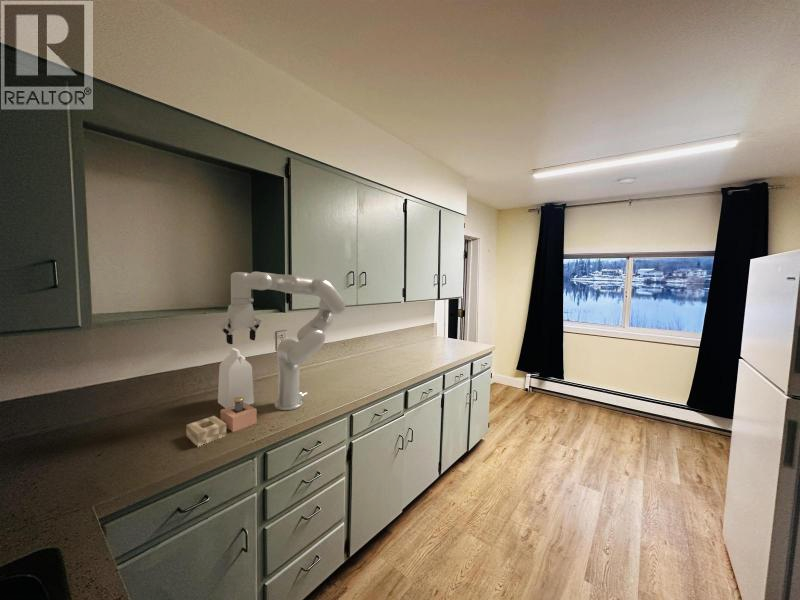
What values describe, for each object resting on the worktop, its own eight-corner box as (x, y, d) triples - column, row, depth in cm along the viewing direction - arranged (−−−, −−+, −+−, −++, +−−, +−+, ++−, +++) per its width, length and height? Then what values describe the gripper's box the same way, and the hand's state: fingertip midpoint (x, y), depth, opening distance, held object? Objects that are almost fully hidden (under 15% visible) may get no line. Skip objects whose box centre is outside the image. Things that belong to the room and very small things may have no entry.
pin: (241, 420, 138) (240, 396, 137) (245, 423, 136) (245, 398, 135) (232, 423, 135) (232, 398, 134) (236, 426, 133) (236, 401, 132)
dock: (244, 415, 143) (244, 402, 142) (256, 422, 137) (256, 409, 136) (220, 423, 135) (220, 410, 134) (232, 432, 129) (232, 417, 128)
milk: (217, 402, 154) (216, 349, 151) (242, 395, 163) (242, 345, 160) (228, 410, 147) (228, 354, 144) (253, 403, 155) (253, 350, 152)
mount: (214, 427, 132) (214, 415, 131) (226, 436, 126) (226, 423, 125) (186, 437, 124) (186, 424, 123) (198, 447, 118) (197, 434, 117)
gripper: (255, 299, 145) (255, 337, 147) (215, 302, 131) (215, 343, 133) (265, 301, 141) (265, 340, 143) (224, 304, 127) (224, 347, 129)
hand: (241, 341), depth 138 cm, fingers open, 9 cm apart
